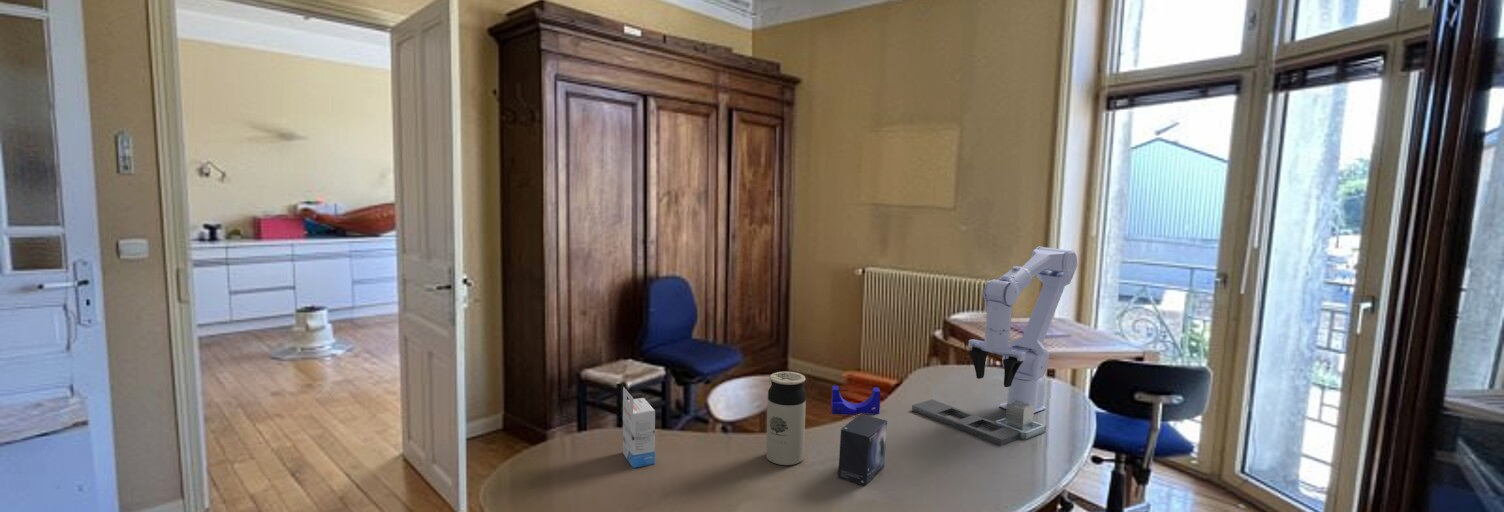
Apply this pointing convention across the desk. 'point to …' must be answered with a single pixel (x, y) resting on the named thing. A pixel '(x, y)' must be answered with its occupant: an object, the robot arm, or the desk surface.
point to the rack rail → (967, 422)
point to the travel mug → (786, 418)
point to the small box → (862, 449)
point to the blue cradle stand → (850, 408)
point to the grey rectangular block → (1019, 415)
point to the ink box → (638, 431)
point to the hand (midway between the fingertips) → (993, 382)
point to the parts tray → (1033, 432)
